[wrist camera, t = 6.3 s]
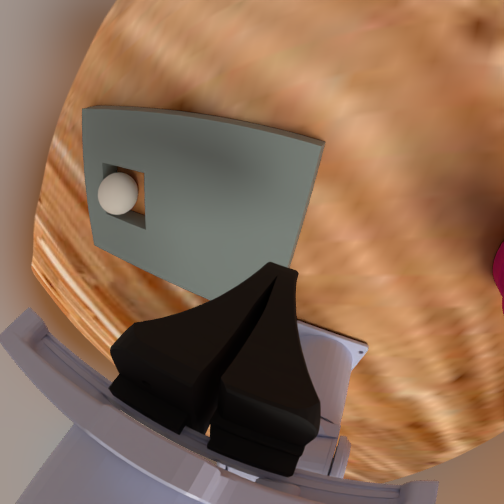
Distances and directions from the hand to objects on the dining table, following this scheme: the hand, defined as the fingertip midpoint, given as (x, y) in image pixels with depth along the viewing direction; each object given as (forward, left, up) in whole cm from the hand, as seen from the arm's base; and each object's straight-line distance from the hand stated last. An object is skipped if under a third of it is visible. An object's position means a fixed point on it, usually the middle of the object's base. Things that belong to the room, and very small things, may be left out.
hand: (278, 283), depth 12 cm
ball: (-3, +17, -7) cm, 19 cm away
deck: (-3, +11, -9) cm, 15 cm away
